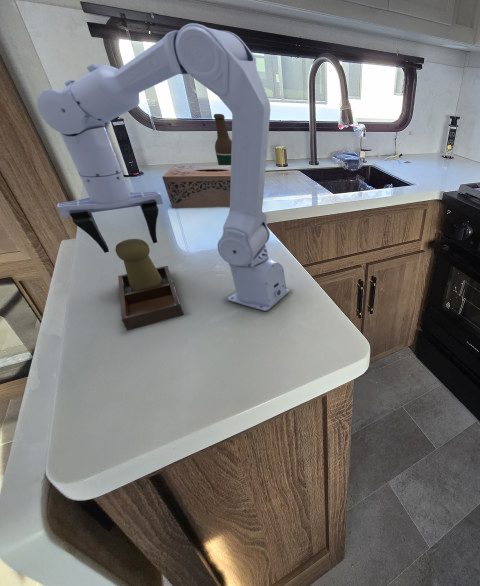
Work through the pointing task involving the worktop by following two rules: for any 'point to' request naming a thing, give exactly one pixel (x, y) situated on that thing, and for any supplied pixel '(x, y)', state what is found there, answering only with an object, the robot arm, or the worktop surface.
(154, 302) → the caddy
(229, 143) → the brown beer bottle
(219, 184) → the tissue box cover
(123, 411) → the worktop surface
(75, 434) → the worktop surface
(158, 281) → the cork
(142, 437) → the worktop surface
